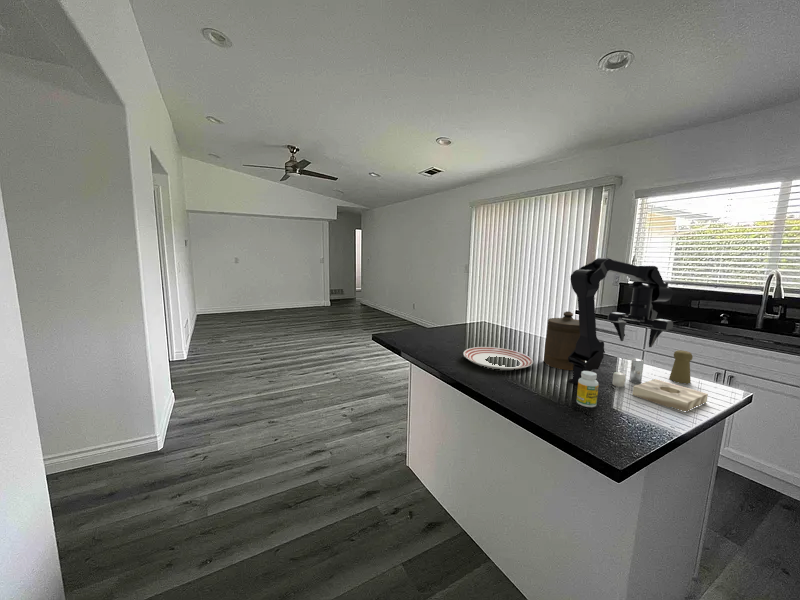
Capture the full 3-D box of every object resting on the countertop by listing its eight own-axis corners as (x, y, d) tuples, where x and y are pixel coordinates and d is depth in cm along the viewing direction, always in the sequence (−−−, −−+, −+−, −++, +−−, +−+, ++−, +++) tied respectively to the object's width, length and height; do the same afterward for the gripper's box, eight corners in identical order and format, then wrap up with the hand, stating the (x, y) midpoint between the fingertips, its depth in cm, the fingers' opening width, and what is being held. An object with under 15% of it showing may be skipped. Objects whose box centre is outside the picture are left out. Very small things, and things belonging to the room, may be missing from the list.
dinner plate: (538, 361, 144) (539, 353, 144) (524, 380, 121) (524, 371, 121) (476, 350, 159) (476, 343, 158) (452, 365, 136) (452, 357, 135)
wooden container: (590, 366, 138) (595, 312, 135) (573, 373, 129) (578, 316, 126) (554, 357, 149) (558, 307, 147) (536, 363, 140) (540, 310, 137)
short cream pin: (620, 387, 116) (622, 376, 115) (610, 384, 119) (611, 373, 118) (626, 386, 117) (627, 374, 117) (615, 382, 120) (617, 371, 120)
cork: (682, 378, 126) (686, 349, 125) (694, 384, 120) (699, 354, 119) (665, 377, 127) (668, 348, 125) (676, 383, 121) (680, 353, 119)
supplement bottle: (587, 399, 105) (590, 369, 104) (600, 407, 100) (604, 375, 99) (572, 400, 104) (574, 370, 103) (585, 408, 99) (588, 376, 98)
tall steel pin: (638, 384, 119) (640, 362, 118) (627, 380, 122) (629, 359, 121) (643, 382, 121) (645, 360, 120) (632, 379, 124) (635, 357, 123)
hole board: (685, 412, 97) (687, 402, 97) (632, 395, 109) (633, 386, 109) (706, 403, 104) (707, 393, 104) (654, 387, 116) (655, 378, 116)
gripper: (683, 304, 117) (676, 348, 119) (624, 297, 133) (619, 336, 135) (668, 305, 111) (662, 351, 113) (609, 298, 127) (604, 339, 129)
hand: (635, 344), depth 123 cm, fingers open, 9 cm apart
